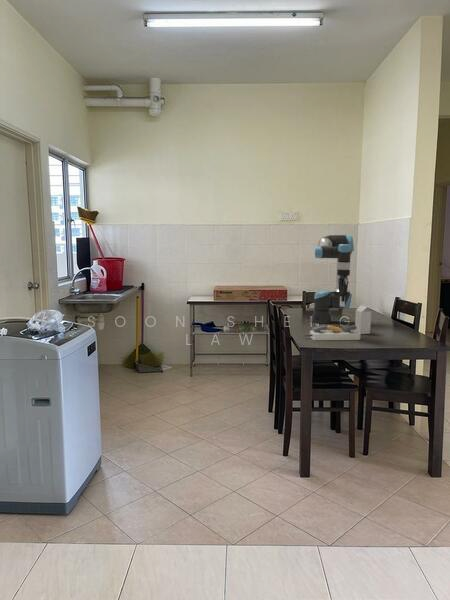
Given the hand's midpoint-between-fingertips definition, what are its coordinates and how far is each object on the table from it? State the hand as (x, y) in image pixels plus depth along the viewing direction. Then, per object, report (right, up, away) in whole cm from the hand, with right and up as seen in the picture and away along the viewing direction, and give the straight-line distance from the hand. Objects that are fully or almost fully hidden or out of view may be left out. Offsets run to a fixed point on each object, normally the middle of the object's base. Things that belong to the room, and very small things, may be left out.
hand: (342, 306), depth 274 cm
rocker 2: (+4, -14, 0) cm, 14 cm away
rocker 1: (-15, -14, -1) cm, 20 cm away
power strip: (-8, -20, -2) cm, 22 cm away
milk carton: (+17, -18, +14) cm, 29 cm away
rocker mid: (-5, -14, -1) cm, 15 cm away
